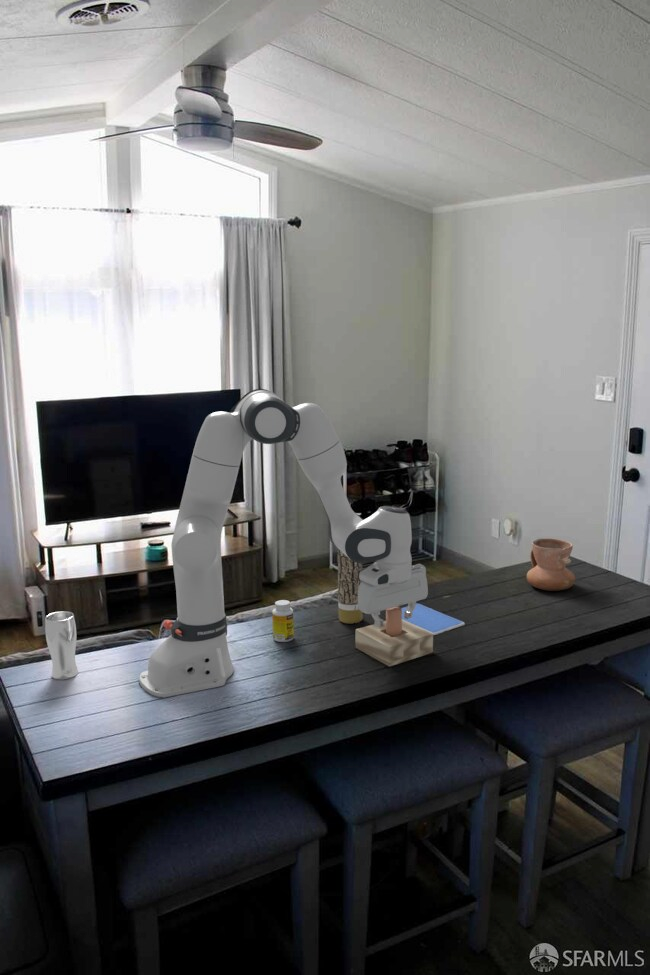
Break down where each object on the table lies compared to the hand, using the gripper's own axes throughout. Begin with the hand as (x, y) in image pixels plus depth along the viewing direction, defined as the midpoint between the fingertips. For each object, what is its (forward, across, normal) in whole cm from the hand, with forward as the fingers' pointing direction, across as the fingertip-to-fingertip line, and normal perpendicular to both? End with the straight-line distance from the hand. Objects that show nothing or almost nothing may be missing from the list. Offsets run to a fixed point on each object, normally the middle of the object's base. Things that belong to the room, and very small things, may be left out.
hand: (393, 622), depth 202 cm
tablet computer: (+8, -20, -11) cm, 24 cm away
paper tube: (+8, -3, -23) cm, 24 cm away
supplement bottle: (+8, +19, -23) cm, 31 cm away
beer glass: (+8, +73, -36) cm, 82 cm away
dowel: (+6, 0, 0) cm, 6 cm away
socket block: (+8, 0, 0) cm, 8 cm away
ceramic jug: (+8, -69, -9) cm, 70 cm away
